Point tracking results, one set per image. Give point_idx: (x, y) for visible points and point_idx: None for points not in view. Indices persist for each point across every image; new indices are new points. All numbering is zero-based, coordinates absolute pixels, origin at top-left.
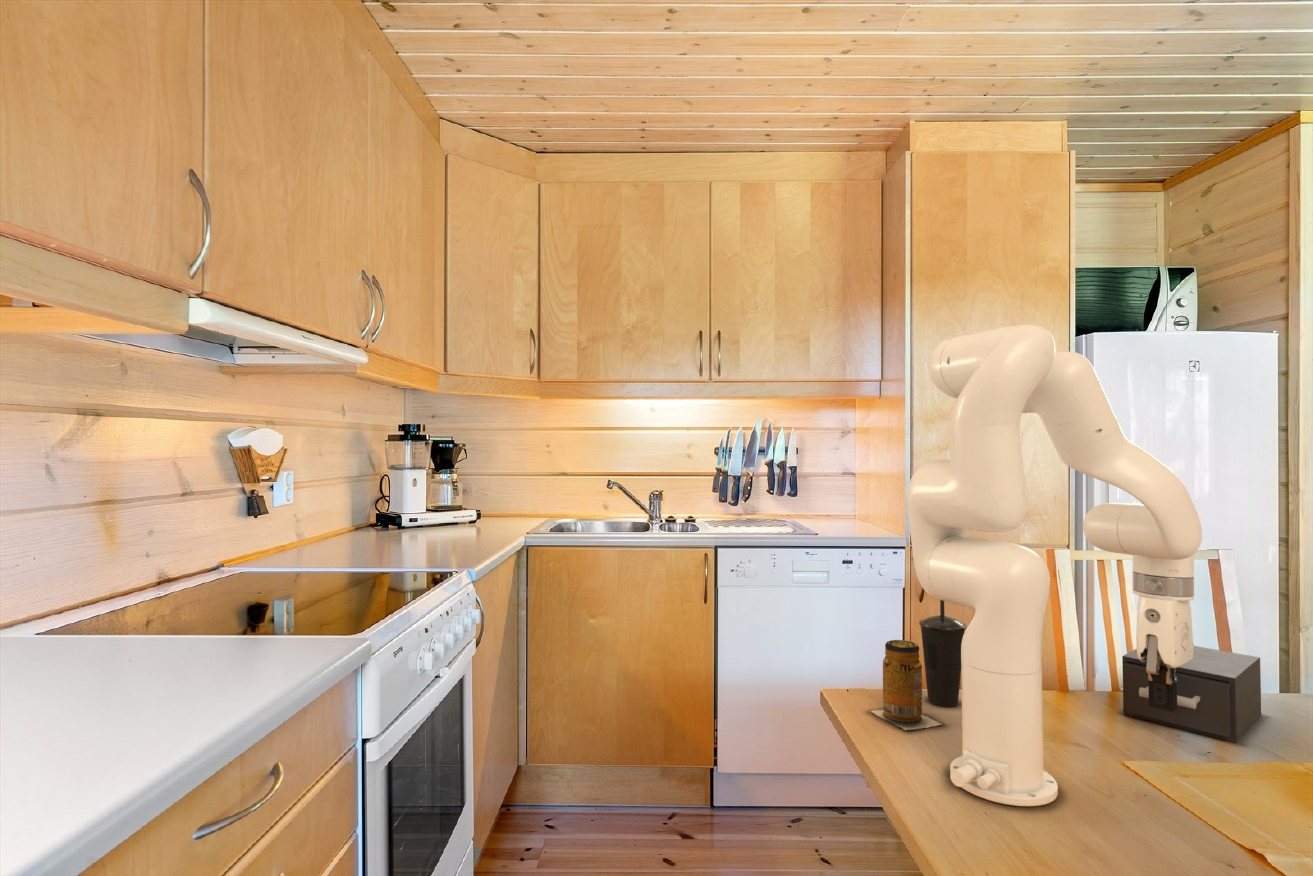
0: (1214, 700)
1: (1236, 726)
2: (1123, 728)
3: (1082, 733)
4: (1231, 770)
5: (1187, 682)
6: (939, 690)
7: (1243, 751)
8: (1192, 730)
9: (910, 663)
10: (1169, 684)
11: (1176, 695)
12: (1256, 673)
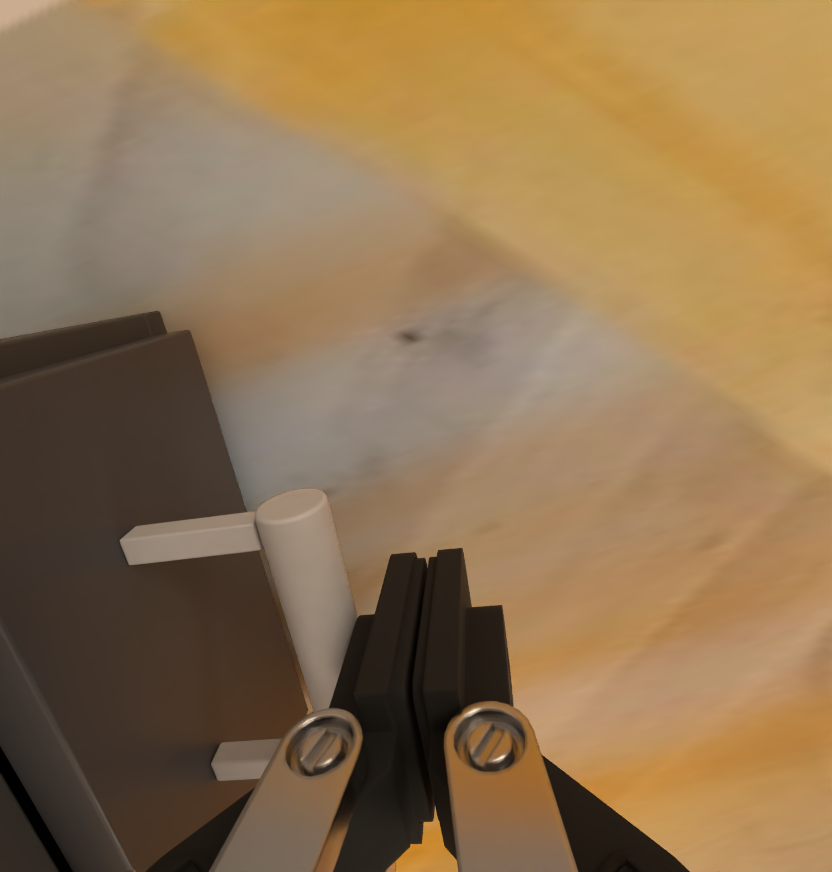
0: (86, 457)
1: (99, 322)
2: None
3: (667, 704)
4: (572, 163)
5: (85, 672)
6: None
7: (236, 246)
8: None
9: None
10: (519, 718)
11: (393, 616)
12: None
